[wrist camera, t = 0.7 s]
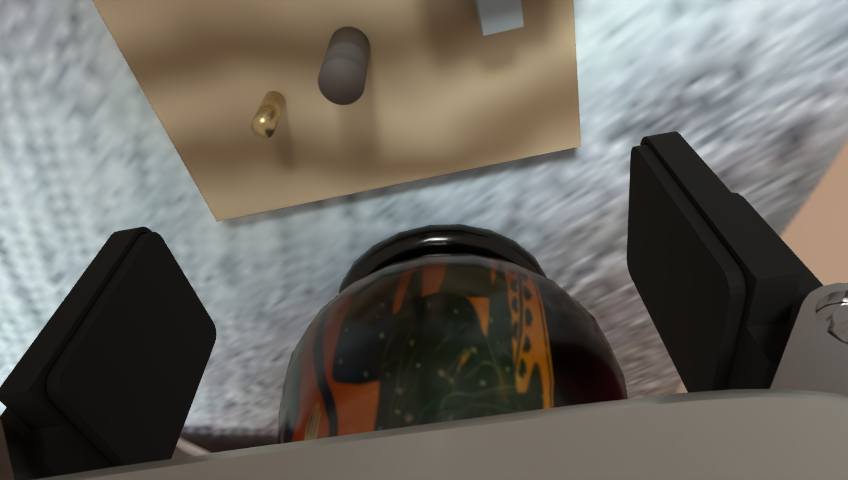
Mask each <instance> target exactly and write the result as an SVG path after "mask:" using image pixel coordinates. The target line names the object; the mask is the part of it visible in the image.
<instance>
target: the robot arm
mask: <svg viewBox="0 0 848 480" xmlns="http://www.w3.org/2000/svg"><path fill="white" fill-rule="evenodd" d="M627 265H628V270H629V273H630V276H631V278H632V280H633V282H634V284H635V286H636V288H637V290H638V292H639V294H640V296H641V298H642V300H643V302H644V304H645V306H646V308H647V310H648V312H649V314H650V316H651V318H652V321H653V323H654V325H655V327H656V329H657V331H658V333H659V335H660V337H661V339H662V341H663V343H664V345H665V347H666V349H667V351H668V353H669V355H670V357H671V359H672V361H673V363H674V365H675V367H676V369H677V371H678V373H679V375H680V377H681V379H682V381H683V383H684V385H685V387H686V389H687V391H688V393H677V394H668V395H659V396H650V397H642V398H633V399H624V400H615V401H606V402H598V403H589V404H580V405H572V406H564V407H556V408H548V409H541V410H533V411H525V412H517V413H510V414H502V415H494V416H486V417H479V418H471V419H463V420H455V421H448V422H440V423H432V424H424V425H417V426H409V427H402V428H394V429H387V430H379V431H372V432H365V433H357V434H350V435H342V436H335V437H327V438H320V439H312V440H305V441H298V442H290V443H283V444H276V445H268V446H261V447H253V448H246V449H239V450H232V451H225V452H218V453H210V454H203V455H196V456H189V457H182V458H175V459H171V458H172V455H173V452H174V450H175V447H176V444H177V442H178V439H179V436H180V434H181V431H182V428H183V426H184V423H185V420H186V418H187V415H188V413H189V410H190V407H191V405H192V402H193V399H194V397H195V394H196V391H197V389H198V386H199V383H200V381H201V378H202V375H203V373H204V370H205V367H206V365H207V362H208V359H209V357H210V354H211V352H212V349H213V346H214V344H215V340H216V328H215V325H214V323H213V321H212V320H211V318H210V316H209V315H208V313H207V311H206V310H205V308H204V306H203V305H202V303H201V301H200V300H199V298H198V296H197V295H196V293H195V291H194V290H193V288H192V286H191V285H190V283H189V281H188V280H187V278H186V276H185V275H184V273H183V271H182V270H181V268H180V266H179V265H178V263H177V261H176V260H175V258H174V256H173V255H172V253H171V251H170V250H169V248H168V247H167V245H166V243H165V242H164V240H163V238H162V237H161V236H160V235H159V234H158V233H156V232H152V231H151V230H150V229H148V228H146V227H139V228H133V229H128V230H122V231H117V232H114V233H113V234H112V235H111V236H110V238H109V239H108V240H107V242H106V243H105V244H104V246H103V247H102V249H101V250H100V251H99V253H98V254H97V255H96V257H95V258H94V260H93V261H92V262H91V264H90V265H89V266H88V268H87V269H86V270H85V272H84V273H83V275H82V276H81V277H80V279H79V280H78V281H77V283H76V284H75V286H74V287H73V288H72V290H71V291H70V292H69V294H68V295H67V297H66V298H65V299H64V301H63V302H62V303H61V305H60V306H59V307H58V309H57V310H56V312H55V313H54V314H53V316H52V317H51V318H50V320H49V321H48V323H47V324H46V325H45V327H44V328H43V329H42V331H41V332H40V333H39V335H38V336H37V338H36V339H35V340H34V342H33V343H32V344H31V346H30V347H29V349H28V350H27V351H26V353H25V354H24V355H23V357H22V358H21V359H20V361H19V362H18V364H17V365H16V366H15V368H14V369H13V370H12V372H11V373H10V375H9V376H8V377H7V379H6V380H5V381H4V383H3V384H2V385H1V387H0V401H1V402H2V403H3V404H4V405H5V406H6V407H7V408H6V409H5V411H4V412H3V413H2V415H1V416H0V480H848V283H835V284H830V285H825V286H823V285H822V283H821V282H820V281H819V280H818V279H817V278H816V277H815V276H814V275H813V273H812V272H811V271H810V270H809V269H808V268H807V267H806V266H805V265H804V264H803V262H802V261H801V260H800V259H799V258H798V257H797V256H796V255H795V254H794V252H793V251H792V250H791V249H790V248H789V247H788V246H787V245H786V244H785V243H784V241H783V240H782V239H781V238H780V237H779V236H778V235H777V234H776V233H775V231H774V230H773V229H772V228H771V227H770V226H769V225H768V224H767V223H766V222H765V220H764V219H763V218H762V217H761V216H760V215H759V214H758V213H757V212H756V210H755V209H754V208H753V207H752V206H751V205H750V204H749V203H748V202H747V201H746V199H745V198H744V197H742V196H741V195H740V194H738V193H731V192H730V190H729V189H728V188H727V187H726V186H725V185H724V184H723V183H722V181H721V180H720V179H719V178H718V177H717V176H716V175H715V173H714V172H713V171H712V170H711V169H710V168H709V167H708V166H707V164H706V163H705V162H704V161H703V160H702V159H701V158H700V157H699V155H698V154H697V153H696V152H695V151H694V150H693V149H692V147H691V146H690V145H689V144H688V143H687V142H686V141H685V140H684V138H683V137H682V136H681V135H680V134H679V133H678V132H669V133H663V134H658V135H652V136H646V137H643V139H642V141H641V144H640V146H635V147H633V148H632V150H631V162H630V189H629V215H628V241H627Z"/></svg>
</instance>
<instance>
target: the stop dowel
mask: <svg viewBox="0 0 848 480" xmlns="http://www.w3.org/2000/svg"><path fill="white" fill-rule="evenodd" d="M284 106H285V98H284V96H283V95H282V94H281V93H279V92H277V91H270V92H268V93H267V94H266V95H265V97H264V99H263V101H262V103H261V105H260V107H259V109H258V111H257V113H256V115H255V117H254V119H253V121H252V123H251V126H250V127H251V131H252V133H253V134H254V135H255V136H256V137H258V138H261V139H267V138H270V137H271V136H272V135H273V133H274V130H275V128H276V126H277V123H278V121H279V118H280V116H281V114H282V111H283V109H284Z"/></svg>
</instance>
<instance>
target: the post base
mask: <svg viewBox="0 0 848 480" xmlns="http://www.w3.org/2000/svg"><path fill="white" fill-rule="evenodd" d="M92 1H93V3H94V5H95V6H96V8H97V10H98V12H99V13H100V15H101V17H102V19H103V21H104V22H105V24H106V26H107V28H108V29H109V31H110V33H111V35H112V37H113V38H114V40H115V42H116V44H117V45H118V47H119V49H120V51H121V52H122V54H123V56H124V58H125V60H126V61H127V63H128V65H129V67H130V68H131V70H132V72H133V74H134V76H135V77H136V79H137V81H138V83H139V84H140V86H141V88H142V90H143V91H144V93H145V95H146V97H147V99H148V100H149V102H150V104H151V106H152V107H153V109H154V111H155V113H156V115H157V116H158V118H159V120H160V122H161V123H162V125H163V127H164V129H165V130H166V132H167V134H168V136H169V138H170V139H171V141H172V143H173V145H174V146H175V148H176V150H177V152H178V154H179V155H180V157H181V159H182V161H183V162H184V164H185V166H186V168H187V169H188V171H189V173H190V175H191V177H192V178H193V180H194V182H195V184H196V185H197V187H198V189H199V191H200V193H201V194H202V196H203V198H204V200H205V201H206V203H207V205H208V207H209V208H210V210H211V212H212V214H213V216H214V217H215V219H216V221H222V220H227V219H232V218H237V217H241V216H246V215H251V214H256V213H261V212H266V211H270V210H275V209H280V208H285V207H290V206H295V205H299V204H304V203H309V202H314V201H319V200H324V199H328V198H333V197H338V196H343V195H348V194H353V193H357V192H362V191H367V190H372V189H377V188H382V187H386V186H391V185H396V184H401V183H406V182H411V181H415V180H420V179H425V178H430V177H435V176H440V175H444V174H449V173H454V172H459V171H464V170H469V169H473V168H478V167H483V166H488V165H493V164H498V163H502V162H507V161H512V160H517V159H522V158H527V157H531V156H536V155H541V154H546V153H551V152H556V151H560V150H565V149H570V148H575V147H580V146H581V136H580V117H579V98H578V80H577V61H576V42H575V23H574V4H573V0H521V5H522V14H523V23H524V27H519V28H515V29H511V30H507V31H502V32H498V33H494V34H489V35H485V36H483V33H482V30H481V28H480V25H479V22H478V17H477V11H476V4H475V0H92ZM270 91H277V92H279V93H281V94H282V95H283V96H284V98H285V106H284V109H283V111H282V114H281V116H280V118H279V121H278V123H277V126H276V128H275V130H274V133H273V135H272V136H271V137H270V138H267V139H261V138H258V137H256V136H255V135H254V134H253V133H252V131H251V127H250V126H251V123H252V121H253V119H254V117H255V115H256V113H257V111H258V109H259V107H260V105H261V103H262V101H263V99H264V97H265V95H266V94H267V93H268V92H270Z"/></svg>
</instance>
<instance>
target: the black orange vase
mask: <svg viewBox="0 0 848 480" xmlns="http://www.w3.org/2000/svg"><path fill="white" fill-rule="evenodd" d="M624 399H628V397H627V391H626V385H625V379H624V375H623V373H622V371H621V368H620V366H619V364H618V362H617V359H616V357H615V355H614V353H613V351H612V348H611V346H610V344H609V342H608V341H607V339H606V337H605V335H604V334H603V332H602V330H601V328H600V327H599V325H598V323H597V321H596V320H595V318H594V317H593V316H592V315H591V314H590V313H589V312H588V311H587V310H586V309H585V308H584V307H583V306H582V305H581V304H580V303H579V302H578V301H577V300H575V299H574V298H573V297H572V296H571V295H569V294H568V293H567V292H566V291H565V290H563V289H562V288H561V287H560V286H558V285H557V284H556V283H555V282H554V281H552V280H550V279H548V278H547V277H546V275H545V273H544V272H543V270H542V269H541V267H540V265H539V264H538V262H537V260H536V259H535V257H533V256H532V255H531V254H530V253H529V252H527V251H526V250H525V249H524V248H523V247H521V246H520V245H519V244H518V243H517V242H515V241H513V240H511V239H509V238H506V237H504V236H502V235H500V234H498V233H495V232H493V231H491V230H487V229H482V228H477V227H471V226H466V225H461V224H457V225H429V226H425V227H421V228H416V229H412V230H408V231H404V232H400V233H398V234H396V235H394V236H392V237H390V238H388V239H386V240H384V241H382V242H380V243H378V244H376V245H374V246H372V247H371V248H370V249H369V250H368V251H367V252H366V253H364V254H363V255H362V256H361V257H360V258H359V259H358V260H356V261H355V262H354V263H353V265H352V267H351V268H350V270H349V272H348V273H347V275H346V276H345V278H344V280H343V281H342V283H341V286H340V290H339V295H337V296H336V297H335V298H334V299H333V300H332V301H330V302H329V303H328V304H327V305H326V306H325V307H323V308H322V309H321V310H320V312H319V313H318V314H317V316H316V317H315V318H314V320H313V321H312V323H311V324H310V325H309V327H308V328H307V330H306V332H305V333H304V335H303V337H302V338H301V340H300V341H299V343H298V345H297V346H296V348H295V350H294V351H293V353H292V355H291V359H290V363H289V366H288V370H287V374H286V378H285V381H284V385H283V390H282V397H281V403H280V409H279V422H278V444H283V443H290V442H298V441H305V440H312V439H320V438H327V437H335V436H342V435H350V434H357V433H365V432H372V431H379V430H387V429H394V428H402V427H409V426H417V425H424V424H432V423H440V422H448V421H455V420H463V419H471V418H479V417H486V416H494V415H502V414H510V413H517V412H525V411H533V410H541V409H548V408H556V407H564V406H572V405H580V404H589V403H598V402H606V401H615V400H624Z"/></svg>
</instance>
